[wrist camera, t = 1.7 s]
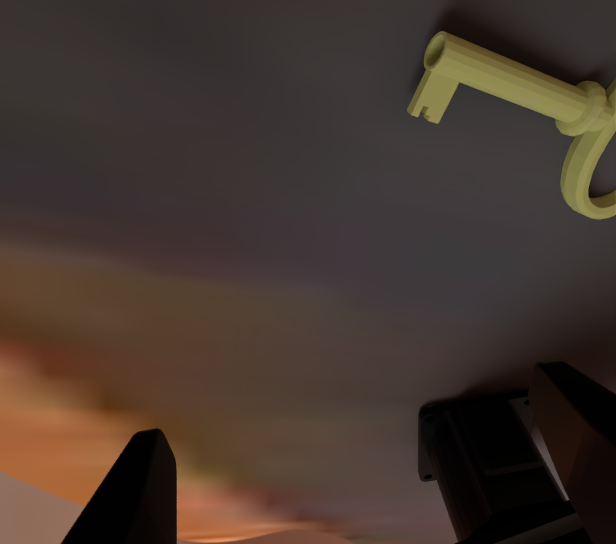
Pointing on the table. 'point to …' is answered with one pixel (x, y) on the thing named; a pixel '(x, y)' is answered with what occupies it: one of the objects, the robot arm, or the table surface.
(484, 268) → the table surface
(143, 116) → the table surface
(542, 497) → the robot arm
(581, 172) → the key
